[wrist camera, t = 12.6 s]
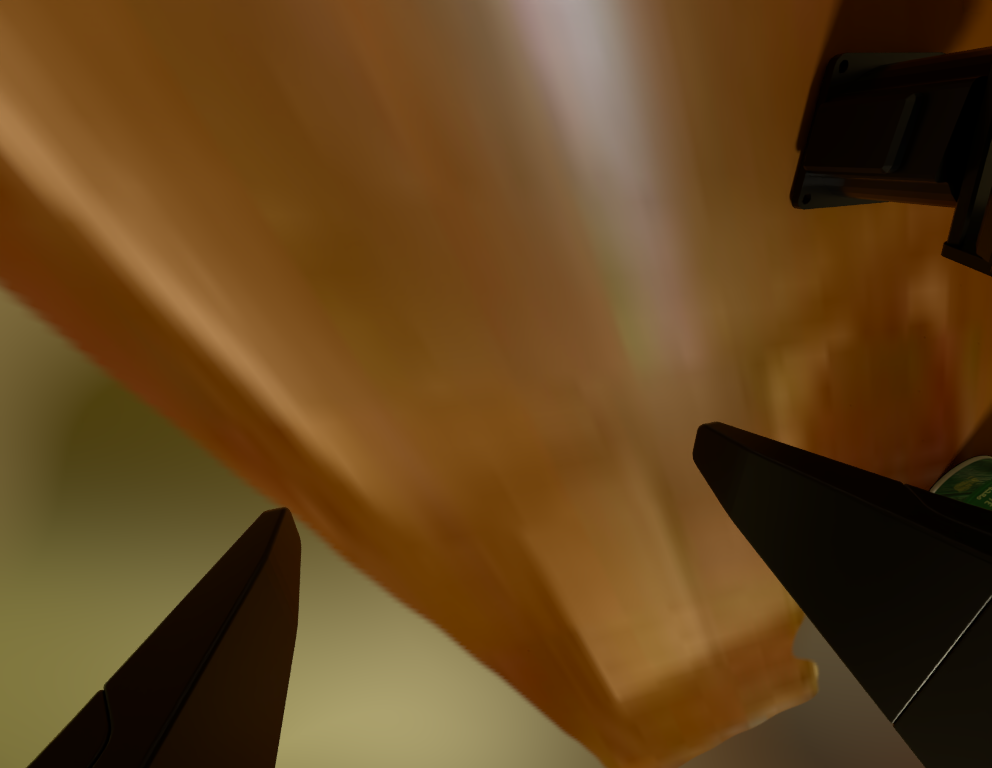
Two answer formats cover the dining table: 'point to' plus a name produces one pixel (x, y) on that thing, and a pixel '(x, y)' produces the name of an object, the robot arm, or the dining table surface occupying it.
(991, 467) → the canned tomato
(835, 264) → the dining table surface
